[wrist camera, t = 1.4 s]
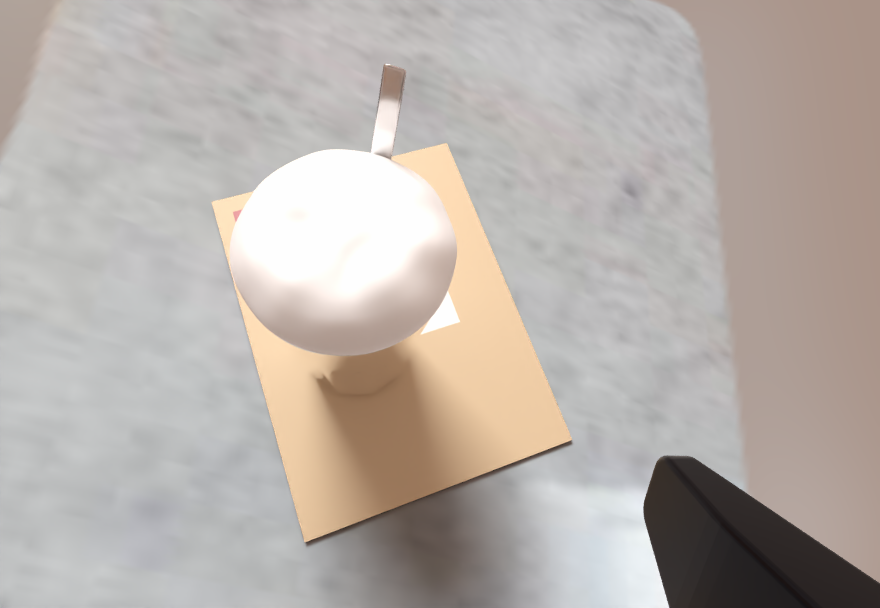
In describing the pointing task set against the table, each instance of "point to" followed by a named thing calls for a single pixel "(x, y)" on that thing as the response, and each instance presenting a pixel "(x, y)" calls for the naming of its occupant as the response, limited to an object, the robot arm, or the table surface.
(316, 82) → the table surface
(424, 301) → the milkshake
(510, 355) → the envelope
